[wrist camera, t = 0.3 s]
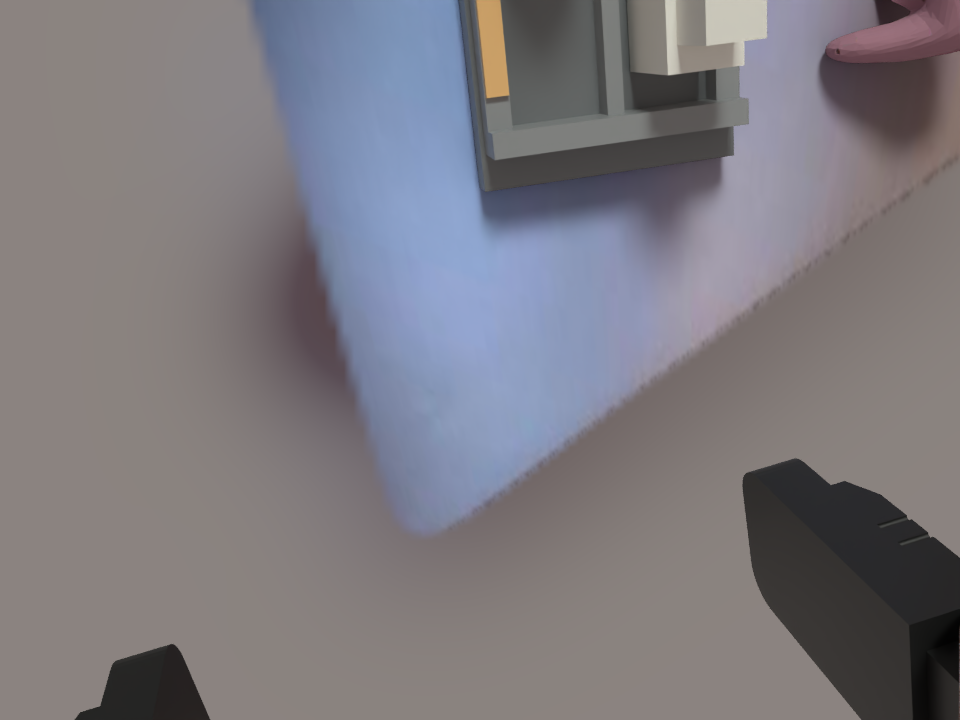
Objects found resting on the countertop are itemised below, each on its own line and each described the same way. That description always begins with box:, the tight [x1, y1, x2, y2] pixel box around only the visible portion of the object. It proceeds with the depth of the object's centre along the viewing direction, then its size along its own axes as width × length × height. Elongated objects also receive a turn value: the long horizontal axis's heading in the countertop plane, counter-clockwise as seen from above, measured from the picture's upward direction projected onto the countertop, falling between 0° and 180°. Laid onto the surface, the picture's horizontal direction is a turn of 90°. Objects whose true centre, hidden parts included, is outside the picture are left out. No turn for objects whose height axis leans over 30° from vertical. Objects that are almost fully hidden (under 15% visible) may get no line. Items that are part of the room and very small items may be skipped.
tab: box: [627, 0, 767, 75], centre depth 33 cm, size 4×3×6 cm
